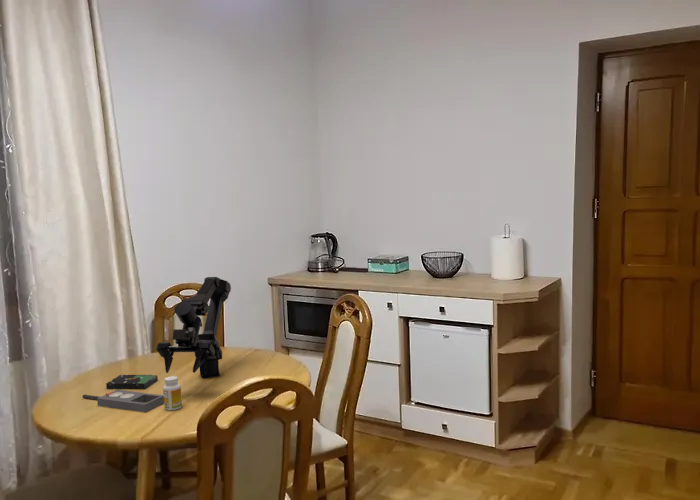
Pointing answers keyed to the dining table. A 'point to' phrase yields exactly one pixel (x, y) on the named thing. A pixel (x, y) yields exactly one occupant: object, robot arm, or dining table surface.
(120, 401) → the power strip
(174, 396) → the supplement bottle
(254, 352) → the dining table surface
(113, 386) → the disk drive
